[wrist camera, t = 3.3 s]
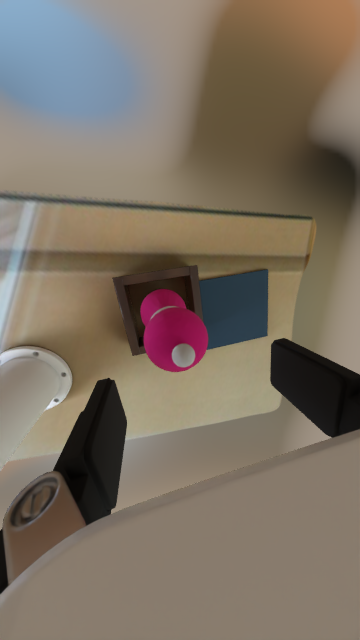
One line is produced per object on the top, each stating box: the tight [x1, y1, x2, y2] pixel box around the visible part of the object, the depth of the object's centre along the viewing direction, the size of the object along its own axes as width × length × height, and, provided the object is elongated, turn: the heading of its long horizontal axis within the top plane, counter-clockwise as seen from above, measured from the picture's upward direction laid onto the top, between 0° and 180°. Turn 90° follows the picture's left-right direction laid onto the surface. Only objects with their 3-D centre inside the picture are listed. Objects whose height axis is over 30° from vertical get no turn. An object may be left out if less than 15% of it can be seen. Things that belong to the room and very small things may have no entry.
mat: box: [199, 270, 268, 350], centre depth 34 cm, size 14×14×1 cm
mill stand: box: [113, 265, 203, 356], centre depth 29 cm, size 13×13×4 cm
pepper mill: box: [140, 289, 208, 372], centre depth 21 cm, size 7×7×20 cm
